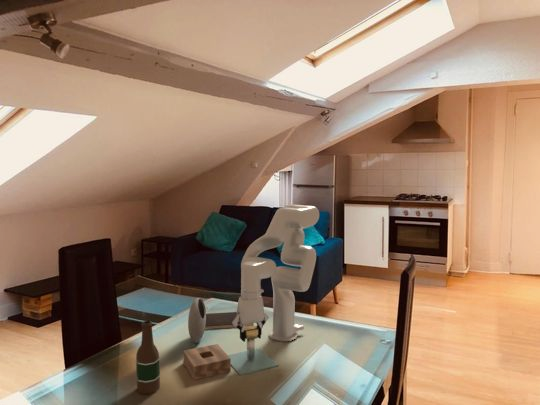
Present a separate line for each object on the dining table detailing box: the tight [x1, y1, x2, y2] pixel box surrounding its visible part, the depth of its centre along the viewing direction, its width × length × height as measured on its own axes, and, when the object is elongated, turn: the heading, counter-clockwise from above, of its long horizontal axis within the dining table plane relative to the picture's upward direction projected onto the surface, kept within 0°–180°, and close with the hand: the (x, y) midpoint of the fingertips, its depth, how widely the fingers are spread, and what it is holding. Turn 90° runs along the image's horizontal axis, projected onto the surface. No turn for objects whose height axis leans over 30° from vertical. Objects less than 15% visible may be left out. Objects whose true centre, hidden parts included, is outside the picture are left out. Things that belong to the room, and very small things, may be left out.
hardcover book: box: [205, 311, 255, 330], centre depth 211 cm, size 16×23×2 cm
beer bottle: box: [135, 320, 161, 396], centre depth 149 cm, size 8×8×24 cm
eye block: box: [182, 343, 232, 381], centre depth 166 cm, size 14×14×5 cm
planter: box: [187, 297, 207, 344], centre depth 188 cm, size 18×7×19 cm, turn 0°
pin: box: [244, 325, 259, 360], centre depth 170 cm, size 6×6×12 cm
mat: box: [227, 347, 279, 376], centre depth 171 cm, size 16×16×1 cm
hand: (250, 338), depth 170 cm, fingers closed on pin, 5 cm apart
